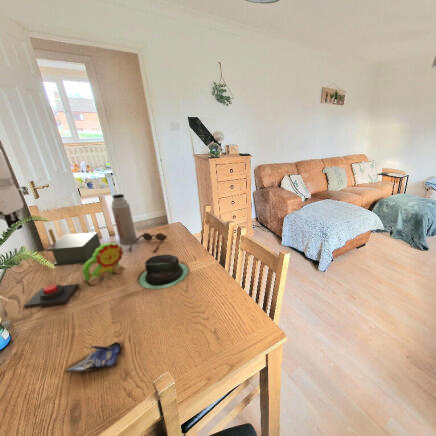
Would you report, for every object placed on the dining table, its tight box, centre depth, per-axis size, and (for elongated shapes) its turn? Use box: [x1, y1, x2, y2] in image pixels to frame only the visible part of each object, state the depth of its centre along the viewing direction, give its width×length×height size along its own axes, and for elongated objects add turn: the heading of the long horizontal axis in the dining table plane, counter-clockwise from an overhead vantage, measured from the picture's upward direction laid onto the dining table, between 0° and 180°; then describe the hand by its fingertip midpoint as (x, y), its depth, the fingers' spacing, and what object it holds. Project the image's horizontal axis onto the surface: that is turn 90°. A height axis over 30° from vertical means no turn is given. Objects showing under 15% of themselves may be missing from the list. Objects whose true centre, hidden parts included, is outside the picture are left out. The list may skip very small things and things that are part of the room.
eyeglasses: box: [129, 232, 168, 253], centre depth 133 cm, size 15×15×5 cm
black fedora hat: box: [138, 253, 189, 290], centre depth 110 cm, size 15×19×20 cm
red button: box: [43, 284, 58, 294], centre depth 92 cm, size 4×4×2 cm
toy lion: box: [82, 242, 124, 286], centre depth 105 cm, size 16×5×15 cm, turn 155°
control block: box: [23, 283, 80, 309], centre depth 93 cm, size 12×10×4 cm
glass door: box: [47, 228, 57, 244], centre depth 120 cm, size 3×7×14 cm, turn 17°
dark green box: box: [45, 231, 102, 267], centre depth 120 cm, size 14×16×9 cm
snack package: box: [65, 342, 122, 373], centre depth 70 cm, size 12×6×12 cm
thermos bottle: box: [111, 193, 138, 246], centre depth 132 cm, size 8×8×28 cm
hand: (16, 228), depth 93 cm, fingers closed
